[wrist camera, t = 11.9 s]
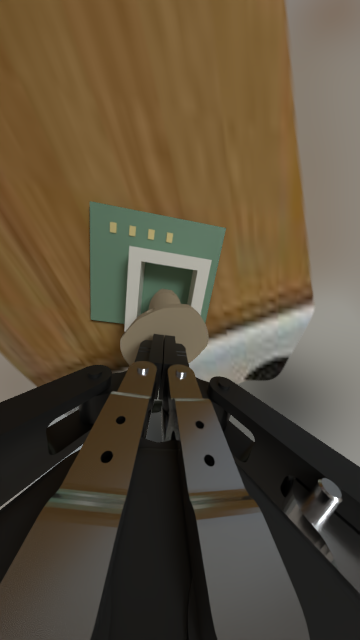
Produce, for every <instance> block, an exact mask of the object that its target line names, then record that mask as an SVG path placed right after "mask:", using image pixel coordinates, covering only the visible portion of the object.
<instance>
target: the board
mask: <svg viewBox="0 0 360 640" xmlns="http://www.w3.org/2000/svg"><path fill="white" fill-rule="evenodd" d="M225 230H226V228H223V227H218V226H213V225H208V224H202V223H197V222H192V221H187V220H182V219H177V218H172V217H167V216H162V215H157V214H152V213H146V212H141V211H136V210H131V209H126V208H121V207H116V206H111V205H106V204H101V203H96V202H91V201H90V281H91V320H97V321H105V322H114V323H122V324H125V311H126V294H127V277H128V260H129V246H133V247H139V248H145V249H151V250H157V251H162V252H168V253H174V254H180V255H186V256H191V257H197V258H203V259H209V260H212V262H211V267H210V271H209V276H208V281H207V286H206V291H205V295H204V300H203V305H202V310H201V315H200V316H201V317H202V319H203V321H204V323H205V321H206V316H207V312H208V307H209V303H210V298H211V294H212V289H213V285H214V280H215V276H216V271H217V266H218V262H219V257H220V253H221V248H222V244H223V239H224V235H225ZM192 273H193V270H191V269H185V268H179V267H173V266H167V265H161V264H155V263H149V262H145V270H144V281H143V292H142V303H141V314H142V313H144V312H146V311H148V310H149V304H150V301H151V299H152V297H153V296H154V295H155V294H156V293H157V292H158V291H159V290H160V289H168V290H172V291H173V292H174V293H175V294H176V295H177V296H178V298H179V300H180V303H181V304H187V301H188V296H189V290H190V284H191V279H192Z"/></svg>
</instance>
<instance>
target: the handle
mask: <svg viewBox="0 0 360 640" xmlns="http://www.w3.org/2000/svg"><path fill="white" fill-rule="evenodd" d="M153 334H161V335H164V336H165V335H169V336H175V341H176V343H179V344H182V345H183V346H184V347H185V348H186V354H187V359H188V363H190V362H191V361H192V360H194V359H195V358H196V357H197V356H198V355H199V354H200V353H201V352H202V351H203V350H204V348H205V347H206V346H207V343H208V330H207V327H206V324H205V323H204V321H203V319H202V317H201V316H200V314H199V313H198V312H197V311H196V310H195V309H194V308H193V307H191V306H190V305H188V304H181V303H180V300H179V298H178V296H177V295H176V294H175V293H174V292H173V291H172V290H168V289H160V290H159V291H158V292H157V293H156V294H155V295H154V296H153V297H152V299H151V301H150V304H149V310H148V311H146V312H144V313H142V314H141V315H139V316H138V317H137V318H136V319H135V320H134V322H133V323H132V324H131V325H130V326H129V328H128V329H127V330H126V332H125V333H124V334H123V336H122V338H121V339H120V349H121V352H122V355H123V357H124V358H125V360H126V361H127V363H128V364H129V365H131V364H132V363H134V362H135V359H136V356H137V353H138V350H139V347H140V343H141V342H142V341H144V340H152V339H153Z"/></svg>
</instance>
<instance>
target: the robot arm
mask: <svg viewBox="0 0 360 640" xmlns="http://www.w3.org/2000/svg"><path fill="white" fill-rule="evenodd" d="M158 390H159V398H158V399H160V400H163V401H162V409H161V421H162V442H160V443H157V442H153V441H150V440H147V439H146V435H147V430H148V425H149V420H150V415H151V409H152V407H153V404H154V399H157V397H158ZM77 406H79V410H77V411H75V412H74V413H72V414H70V415H68V416H67V417H65V418H63V419H62V420H60V421H58V422H57V423H55V424H53V425H51V426H50V427H48V426H49V424H50V423H51V422H52V421H53V420H55V419H56V418H58V417H59V416H61V415H63V414H65V413H66V412H68V411H70V410H72V409H73V408H75V407H77ZM230 415H232V416H233V417H234V418H236V419H237V420H238V421H239V422H240V423H241V424H243V425H244V426H245V427H246V428H247V429H249V430H250V431H251V432H252V434H253V436H254V438H255V442H253V441H252V440H251V439H250V438H248V437H247V436H246V435H245V434H244V433H243V432H241V431H240V430H239V429H238V428H237V427H235V426H234V425H233V424H232V423H231V422H230V421H229V418H230ZM47 427H48V428H47ZM82 444H83V446H82V448H81V449H80V450H78V451H77V452H75V453H73V454H71V455H70V456H68V455H69V454H70V453H72V452H73V451H74V450H76V449H77V448H78V447H79V446H81V445H82ZM66 456H68V457H67V458H65V457H66ZM64 458H65V459H64ZM62 459H64V460H62ZM61 460H62V461H61ZM60 461H61V462H60ZM58 462H60V463H58ZM57 463H58V464H57ZM56 464H57V465H56ZM55 465H56V466H55ZM53 466H55V467H53ZM52 467H53V468H52ZM50 468H52V469H51V470H50V471H49V472H47V471H48V470H49V469H50ZM45 472H47V473H46V474H45V475H43V474H44V473H45ZM41 475H43V476H42V477H41V478H40V479H38V480H37V481H36V482H35V483H33V484H32V485H31V486H30V487H28V488H27V489H26V490H25V491H24V492H22V493H21V494H20V495H19V496H17V497H16V498H15V499H14V500H12V501H11V502H10V503H9V504H7V505H6V506H5V507H3V508H2V509H1V510H0V640H360V467H359V466H357V465H356V464H354V463H353V462H351V461H350V460H348V459H347V458H345V457H344V456H342V455H341V454H339V453H338V452H336V451H335V450H334V449H332V448H331V447H329V446H328V445H326V444H325V443H323V442H322V441H320V440H319V439H317V438H316V437H314V436H313V435H311V434H310V433H308V432H307V431H305V430H304V429H302V428H301V427H299V426H298V425H296V424H295V423H293V422H292V421H290V420H289V419H287V418H286V417H284V416H283V415H281V414H280V413H278V412H277V411H275V410H274V409H273V408H271V407H269V406H268V405H267V404H265V403H264V402H262V401H261V400H259V399H257V398H256V397H255V396H253V395H251V394H250V393H249V392H247V391H246V390H244V389H243V388H241V387H240V386H238V385H237V384H235V383H234V382H232V381H231V380H229V379H227V378H224V377H213V378H211V380H210V383H209V382H206V381H203V380H200V379H198V378H196V377H195V374H194V372H193V370H192V369H191V368H189V364H188V359H187V354H186V348H185V347H184V346H183V345H182V344H179V343H176V341H175V336H169V335H165V336H164V335H161V334H153V339H152V340H144V341H142V342H141V343H140V347H139V350H138V353H137V356H136V359H135V362H134V363H132V364H131V365H130V366H129V368H128V370H127V371H125V372H121V373H113V374H112V372H111V369H110V368H108V367H107V366H103V365H93V366H89V367H86V368H83V369H81V370H79V371H76V372H74V373H71V374H69V375H66V376H64V377H62V378H59V379H57V380H54V381H52V382H49V383H47V384H44V385H42V386H40V387H37V388H35V389H32V390H30V391H27V392H25V393H22V394H20V395H18V396H15V397H13V398H10V399H8V400H5V401H3V402H1V403H0V506H2V505H3V504H4V503H6V502H7V501H8V500H10V499H11V498H12V497H14V496H15V495H16V494H18V493H19V492H20V491H21V490H23V489H24V488H26V487H27V486H28V485H30V484H31V483H32V482H33V481H35V480H36V479H37V478H39V477H40V476H41Z"/></svg>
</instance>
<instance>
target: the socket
mask: <svg viewBox="0 0 360 640" xmlns="http://www.w3.org/2000/svg"><path fill="white" fill-rule="evenodd" d="M145 262H149V263H155V264H161V265H167V266H173V267H179V268H185V269H191V270H193V273H192V279H191V284H190V290H189V296H188V301H187V304H188V305H190V306H191V307H193V308H194V309H195V310H196V311H197V312H198V313H199V314H200V315H201V310H202V305H203V300H204V295H205V291H206V286H207V281H208V276H209V271H210V267H211V262H212V260H209V259H203V258H197V257H191V256H186V255H180V254H174V253H168V252H162V251H157V250H151V249H145V248H139V247H133V246H129V260H128V277H127V294H126V311H125V328H124V332H126V330H127V329H128V328H129V326H130V325H131V324H132V323H133V322H134V320H135V319H136V318H137V317H138V316H139V315H141V303H142V292H143V281H144V270H145Z"/></svg>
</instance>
